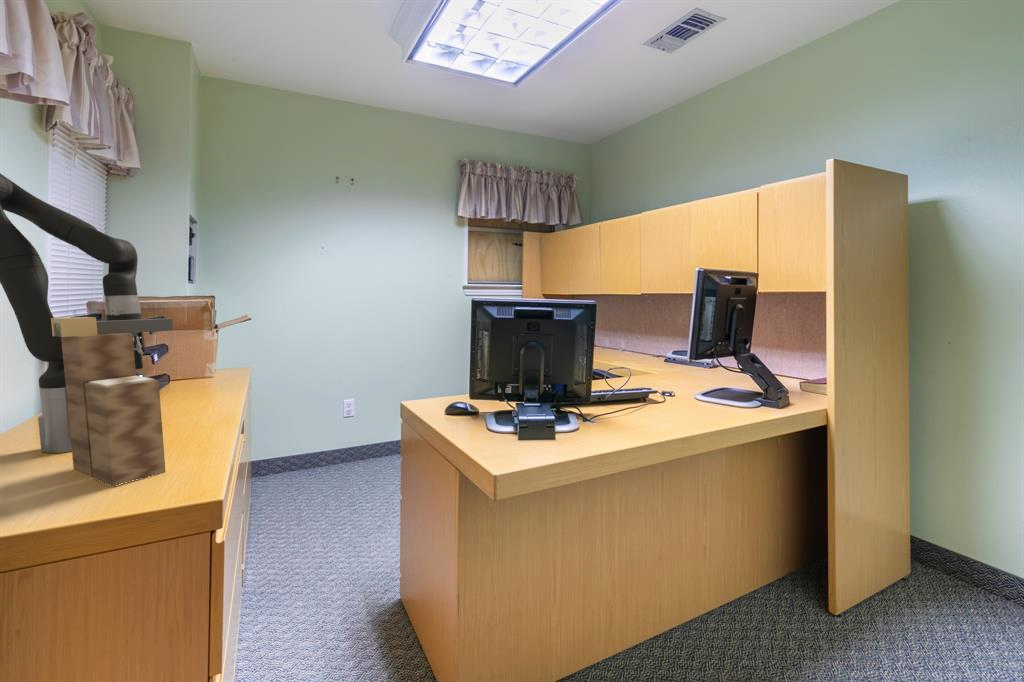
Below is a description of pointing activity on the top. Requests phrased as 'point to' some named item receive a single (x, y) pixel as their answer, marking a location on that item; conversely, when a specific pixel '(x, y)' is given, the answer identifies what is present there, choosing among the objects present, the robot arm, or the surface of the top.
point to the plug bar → (106, 326)
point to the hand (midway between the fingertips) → (131, 371)
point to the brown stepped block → (111, 410)
